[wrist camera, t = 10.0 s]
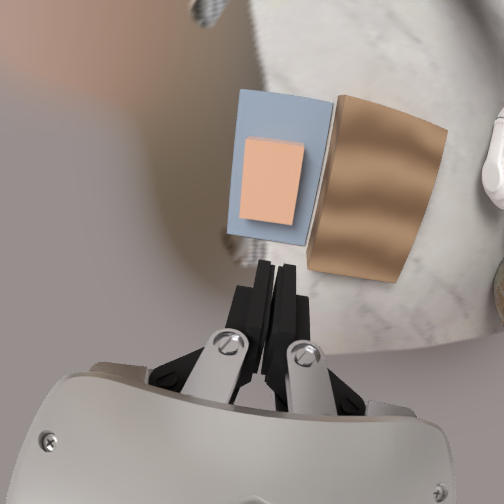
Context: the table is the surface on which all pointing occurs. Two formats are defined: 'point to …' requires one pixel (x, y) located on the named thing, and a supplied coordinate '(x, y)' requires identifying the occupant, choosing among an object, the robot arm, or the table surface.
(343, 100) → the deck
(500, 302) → the vase
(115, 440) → the robot arm
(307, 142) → the mat
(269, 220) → the tile
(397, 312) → the table surface
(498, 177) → the headphones
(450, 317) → the table surface
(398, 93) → the table surface
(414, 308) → the table surface
